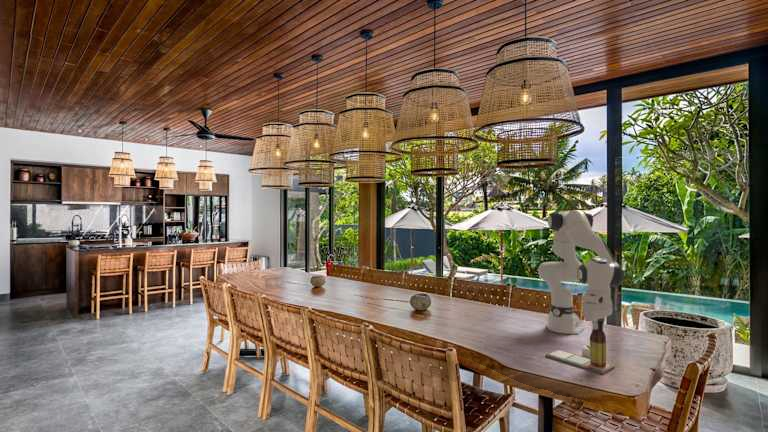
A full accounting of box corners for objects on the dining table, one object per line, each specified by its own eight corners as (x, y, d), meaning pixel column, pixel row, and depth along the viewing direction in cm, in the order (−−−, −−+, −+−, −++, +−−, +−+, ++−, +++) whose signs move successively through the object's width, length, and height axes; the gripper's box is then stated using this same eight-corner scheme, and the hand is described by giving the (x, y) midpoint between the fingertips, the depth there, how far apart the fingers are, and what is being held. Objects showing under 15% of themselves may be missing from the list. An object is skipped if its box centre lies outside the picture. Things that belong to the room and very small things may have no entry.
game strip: (558, 351, 187) (558, 348, 186) (614, 368, 167) (614, 365, 167) (545, 356, 179) (545, 354, 179) (602, 374, 159) (602, 371, 159)
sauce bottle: (600, 362, 170) (601, 317, 170) (609, 367, 164) (610, 321, 164) (586, 362, 170) (587, 317, 170) (594, 367, 164) (595, 321, 163)
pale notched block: (586, 355, 182) (586, 344, 182) (596, 357, 179) (596, 347, 179) (581, 357, 180) (582, 346, 180) (591, 360, 176) (592, 349, 176)
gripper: (601, 292, 175) (601, 322, 175) (580, 297, 163) (579, 330, 163) (616, 294, 170) (616, 325, 170) (596, 300, 158) (595, 334, 158)
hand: (598, 328), depth 167 cm, fingers closed on sauce bottle, 4 cm apart
